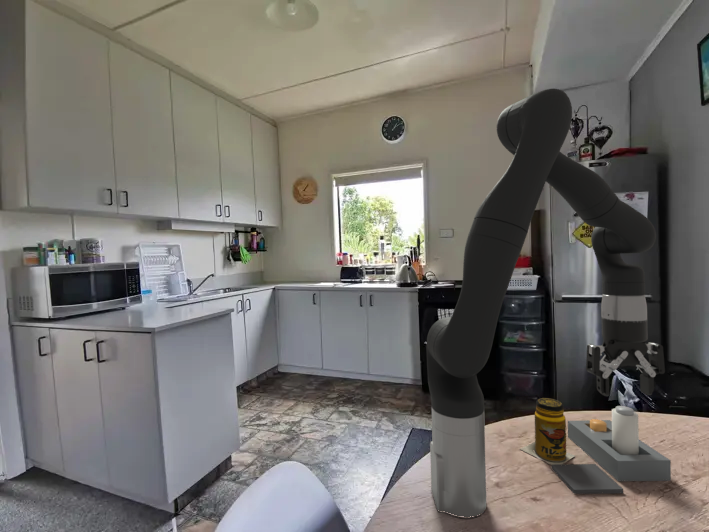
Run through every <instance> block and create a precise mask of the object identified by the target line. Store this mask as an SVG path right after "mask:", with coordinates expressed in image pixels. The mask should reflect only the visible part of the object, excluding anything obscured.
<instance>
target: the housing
mask: <svg viewBox="0 0 709 532" xmlns="http://www.w3.org/2000/svg"><path fill="white" fill-rule="evenodd" d="M590 420H591V419H590ZM590 420H567V438H568V439H570V441H572V442H573V443H574V444H576V446H577V447H578V448H579V449H581V450H582V451H583V452H584V453H585V454H587V456H589V457H590V458H591V459H592V460H593V461H594V462H596V463H597V464H598V465H599V467H601V468H603V469H604V471H606V472H607V473H608V474H609V475H610V476H612V477H613V478H614V479H615V481H616V482H658V481H659V482H661V481H662V482H663V481H665V482H667V481H668V482H669V481H672V479H671V478H672V476H671V475H672V473H671V472H672V471H671V469H672V468H671V467H672V465H671V461H672V460H671V459H670V458H668V457H666V456H665V455H664V454H662V453H660V452H658V450H656V449H654V448H653V447H651V446H650V445H648V444H647V443H645V442H644V441H642V440H641V439H639V455H620V454H619V453H618V452H616V451H615V450H614V449H612V420H610V419H600V420H601V421H604V422H606V424H607V432H595V431H593V430H592V429H591V428H590Z"/></svg>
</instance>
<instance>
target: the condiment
mask: <svg viewBox="0 0 709 532" xmlns="http://www.w3.org/2000/svg"><path fill="white" fill-rule="evenodd" d="M535 404H536V407H535V412H534V441H533V442H531V443H530V444H528V445H526V446H523V447H521V448H520V450H521V451H523V452H525V453H527V454H529V455H531V456H533V457H535V458H537V459H538V460H540V461H543V462H545V463H547V464H549V465H550V466H551V465H555V464H565V463H567V462H568V461H570V460H571V459H572V458H574V457H576V455H574V454H572V453H570V452H567V430H566V429H567V428H566V427H567V421H566V416H565V415H564V413H565V411H564V404H563V403H562V402H561V401H559V400H557V399H554V398H550V397H542V398H538V399H537V400H536V402H535Z"/></svg>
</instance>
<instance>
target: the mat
mask: <svg viewBox="0 0 709 532" xmlns="http://www.w3.org/2000/svg"><path fill="white" fill-rule="evenodd" d="M550 467H551V470H552V471H553V472H554V473H555V474H556V475H557V477H558V478H559V479H560V480H561V481H562V482H563V483H564V484H565V486H567V488H568V489H569V491H571V492H572V493H573V494H574V495H590V494H591V495H592V494H593V495H597V494H600V495H601V494H604V495H605V494H624V488H623V487H622V486H621V485H619V483H617V481H616V480H614V479H613V478H612V477H611V476H609V475H608V474H607V473H606V472H605V470H603V469H601V468H600V466H598V465H597V464H596V463H575V464H574V463H571V464H570V463H569V464H568V463H567V464H565V463H564V464H555V465H551V464H550Z"/></svg>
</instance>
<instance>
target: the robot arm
mask: <svg viewBox="0 0 709 532" xmlns="http://www.w3.org/2000/svg"><path fill="white" fill-rule="evenodd" d="M572 118H573V107H572V101H571V99H570V97H569V96H568V94H567V92H566V91H565V92H564V91H563V90H561V89H559V88H548V89H543V90H540V91H538V92H535V93H533V94H531V95H529V96H526V97H525V98H523V99H521V100H518V101H516V102H514V103H512V104H510V105H508V106H507V107H506V108H504V109H503V110H502V111H501V113H500V115H499V116H498V118H497V122H496V134H497V137H498V140H499V142H500V143H501V144H502V146H503V147H504V148H505V149H506V150H507V151H508V152H509V153H510V154H511V155H513V158H512V160H511V162H510V164H509V166H508V168H507V169H506V171H505V172H504V173H503V175H502V176H501V178H500V179H499V180H498V181H497V183H496V184H495V185H494V186H493V188H492V189H491V190H490V191H489V192H488V194H487V195H486V196H485V198H484V199H483V201H482V202H481V204H480V205H479V207H478V209H477V211H476V213H475V215H474V218H473V221H472V224H471V226H470V229H469V232H468V235H467V238H466V242H465V247H464V251H463V252H464V254H463V267H462V281H461V282H462V283H461V288H460V293H459V296H458V300H457V302H456V305H455V308H454V310H453V313H452V314H451V316H448V317H447V316H446V317H442V318H439V319H438V320H437V321H435V322H434V323H433V324H432V325H431V327H430V328H429V331H428V333H427V337H426V368H427V369H426V370H427V371H426V372H427V383H428V384H427V385H428V390H429V394H430V401H431V403H430V404H431V433H432V434H431V438H432V439H431V440H432V441H429V448H430V449H429V450H430V453H429V454H430V455H429V456H430V457H429V458H430V485H431V486H430V487H431V488H430V491H431V494H432V497H434V498H433V500H435V501H434V504H435V507H437V508H436V510H439V511H445V512H448V513H451V514H454V515H457V516H464V517H470V516H471V517H472V516H477V515H479V514H481V513H482V514H484V512H485V511H486V509H487V478H486V477H487V475H486V472H487V471H486V435H485V434H486V433H485V432H486V431H485V430H486V429H485V427H486V426H485V424H486V423H485V398H484V394H483V391H482V389H481V386H480V384H479V380H478V377H477V374H479V372H481V370H483V368H484V367H485V366H486V364H487V362H488V360H489V358H490V354H491V351H492V347H493V343H494V338H495V333H496V329H497V325H498V321H499V316H500V313H501V309H502V305H503V302H504V300H505V299H504V298H505V296H506V293H507V291H508V288H509V286H510V282H511V281H512V276H513V274H514V271H515V267H516V265H517V263H518V260H519V257H520V254H521V252H522V249H523V248H524V247H523V246H524V244H525V242H526V238H527V235H528V231H529V229H530V226H531V222H532V219H533V216H534V214H535V211H536V209H537V205H538V203H539V200H540V197H541V195H542V193H543V189H544V187H545V184H546V183H547V184H549V185H550V186H551V187H552V188H553V189H554V190H555V191H556V192H557V193H558V194H559V195H560V196H561V197H562V198H563V199H564V200H565V202H567V204H568V205H569V206H570V207H571V208H572V210H573V211H574V212H575V213H576V215H578V217H579V218H580V219H581V220H582V221H583V222H584V223H585V224H586V225H587V226H590V227H593V230H592V233H591V236H590V237H591V239H590V240H591V246H592V249H593V252H594V255H595V258H596V261H597V265H598V267H599V270H600V273H601V285H602V286H601V287H602V291H601V292H602V298H601V303H600V304H601V305H600V306H601V308H600V309H601V310H600V311H601V337H602V339H603V341H602V344H601V345H597V344H596V345H594V344H592V343H588V344H587V345H586V359H585V360H586V363H585V364H586V365H585V368H586V369H585V370H586V372H588V373H590V374H592V375H594V376H596V390H597V391H598V392H599V393H600V394H601V395H602V396H604V397H609V396H610V378H609V377H610V376H611V374H612V373H613V372H614V371H616V370H617V369H618V368H619V367H621V368H622V367H627V366H629V367H637V369H638V370H639V371H640V373H641V374H640V375H639V385H640V386H639V389H640V392H641V393H642V394H645V395H646V396H652V395H653V393H654V391H655V377H656V375H659V374H660V375H664V374H665V372H666V368H665V367H666V366H665V365H666V364H665V356H664V355H665V354H664V346H663V345H661V344H659V343H655V342H651V341H650V342H648V343H646V341H648V337H649V336H648V333H649V332H648V305H647V300H646V283H645V281H646V279H645V278H646V276H645V271H644V269H643V268H642V267H640V266H638V265H633V264H629V263H626V262H625V261H624V259H623V258H622V256H621V255H622V254H640V253H644V252H647V251H649V250H650V249H651V248H652V247H654V244H655V243H656V241H657V232H656V227H655V226H654V225H653V223H652V221H651V220H650V219H649V218H648V217H646V216H645V215H644V214H642V213H641V212H639V211H638V210H637V209H635V208H633V207H632V206H631V205H630V204H628V203H626V202H624V201H622V200H621V199H620V198H619V197H618V195H617V194H616V192H615V191H613V189H612V188H611V186H610V185H609V184H608V182H607V181H605V179H603V177H602V176H600V174H598V173H596V172H595V171H593V169H591V168H589V167H587V166H585V165H583V164H582V163H580V162H577V160H574V159H572V158H570V157H568V156H566V155H565V154H564V153H562V152H561V149H562V147H563V145H564V143H565V140H566V138H567V136H568V133H569V132H570V128H571V123H572ZM603 353H604V355H603ZM646 354H648V356H647V357H648V360H647V359H646V358H645V357H644V356H645V355H646ZM484 510H485V511H484ZM445 512H444V513H445ZM482 514H481V515H482ZM479 516H480V515H479ZM477 517H478V516H477Z"/></svg>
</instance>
